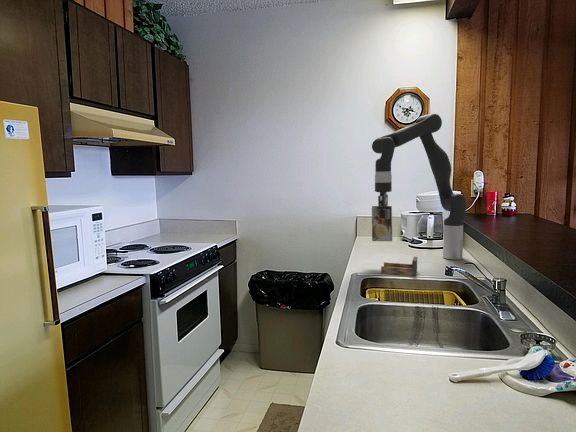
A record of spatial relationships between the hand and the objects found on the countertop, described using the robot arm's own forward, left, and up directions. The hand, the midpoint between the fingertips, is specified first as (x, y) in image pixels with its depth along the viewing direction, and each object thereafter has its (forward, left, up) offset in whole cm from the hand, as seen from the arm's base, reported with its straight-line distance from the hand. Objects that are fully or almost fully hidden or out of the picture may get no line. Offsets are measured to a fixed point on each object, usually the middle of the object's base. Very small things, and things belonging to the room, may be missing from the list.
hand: (383, 217), depth 187 cm
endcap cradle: (-8, +9, -24) cm, 26 cm away
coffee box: (0, 0, -11) cm, 11 cm away
